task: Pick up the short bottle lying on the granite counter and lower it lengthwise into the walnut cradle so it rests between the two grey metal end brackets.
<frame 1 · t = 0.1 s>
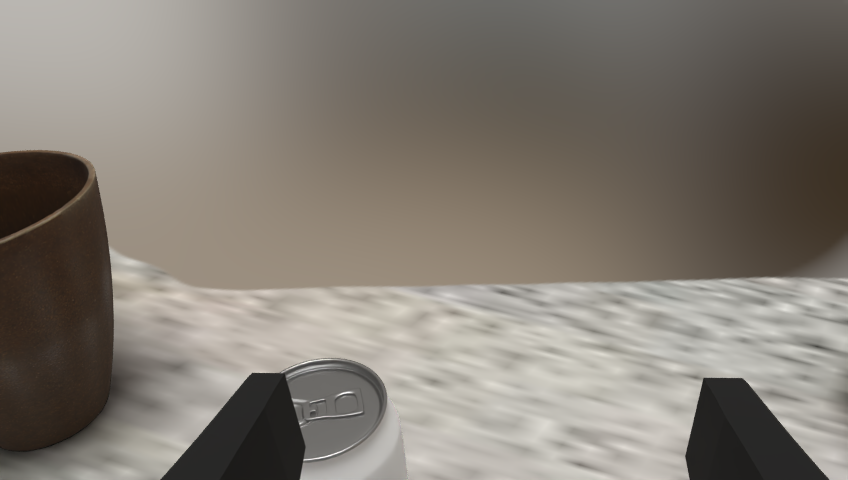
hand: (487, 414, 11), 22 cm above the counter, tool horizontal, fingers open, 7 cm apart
plant pot: (54, 412, 44), on the counter
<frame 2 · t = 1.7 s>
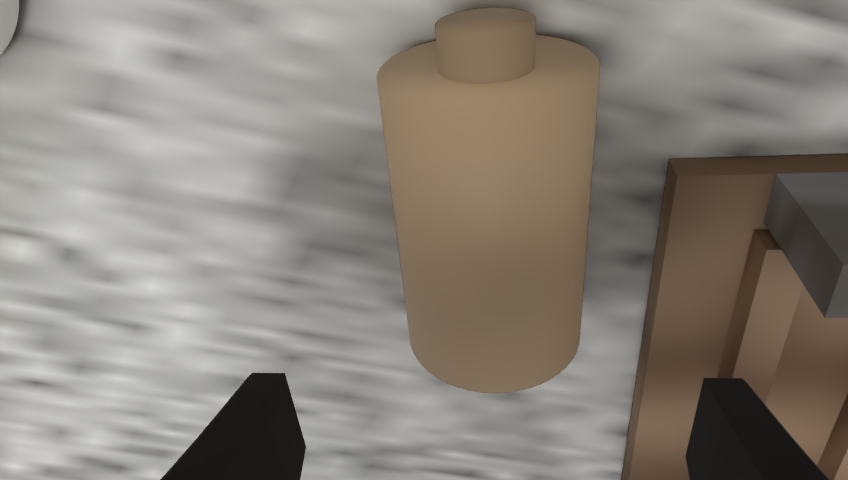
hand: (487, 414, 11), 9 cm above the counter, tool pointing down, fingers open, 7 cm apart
cradle: (791, 359, 22), on the counter
bottle: (490, 169, 19), on the counter
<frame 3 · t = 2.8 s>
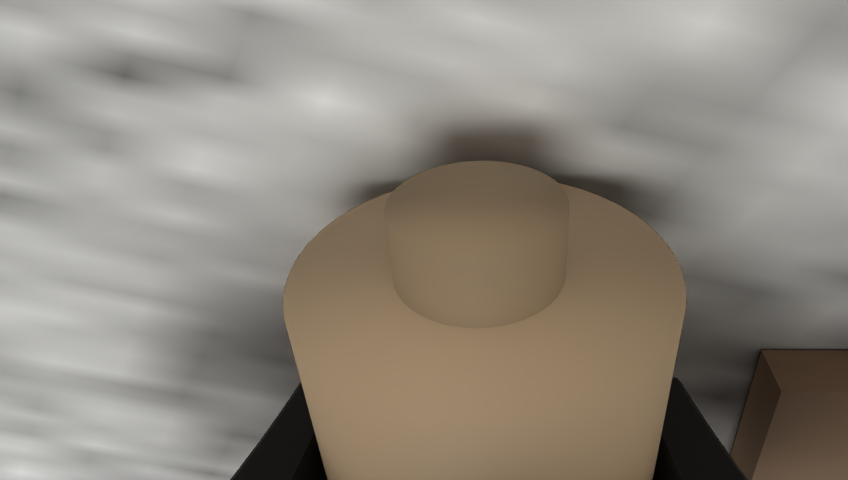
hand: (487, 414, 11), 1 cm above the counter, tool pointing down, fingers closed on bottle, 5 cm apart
bottle: (488, 355, 13), on the counter, touching gripper
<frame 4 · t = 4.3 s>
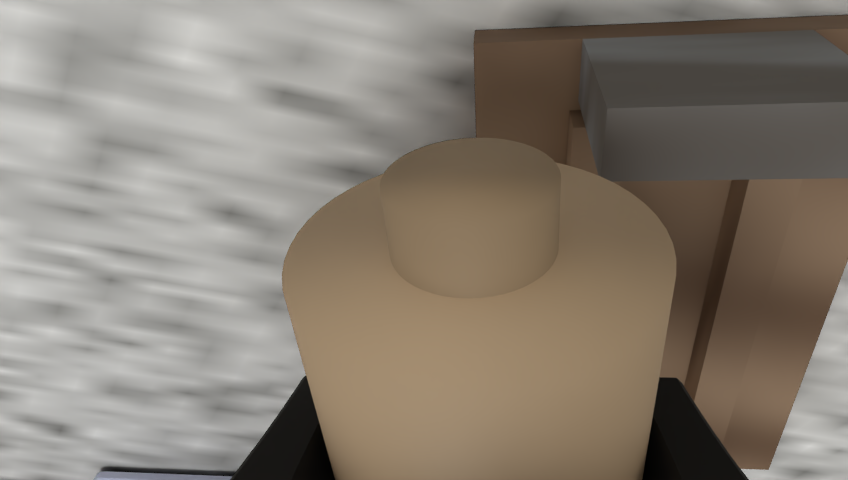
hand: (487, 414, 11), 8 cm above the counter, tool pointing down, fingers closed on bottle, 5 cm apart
cradle: (644, 278, 20), on the counter
bottle: (490, 336, 13), point 7 cm above the counter, touching gripper
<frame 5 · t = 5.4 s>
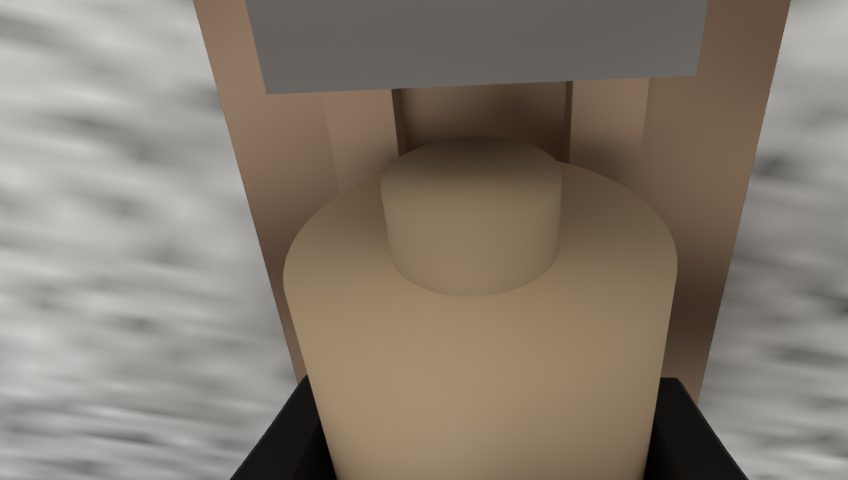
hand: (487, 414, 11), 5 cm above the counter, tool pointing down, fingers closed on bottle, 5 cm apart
cradle: (489, 261, 15), on the counter
bottle: (490, 335, 13), point 3 cm above the counter, touching gripper
when the fingers open (4 cm above the counter, at t = 5.9 s): bottle drops 1 cm, resting on cradle.
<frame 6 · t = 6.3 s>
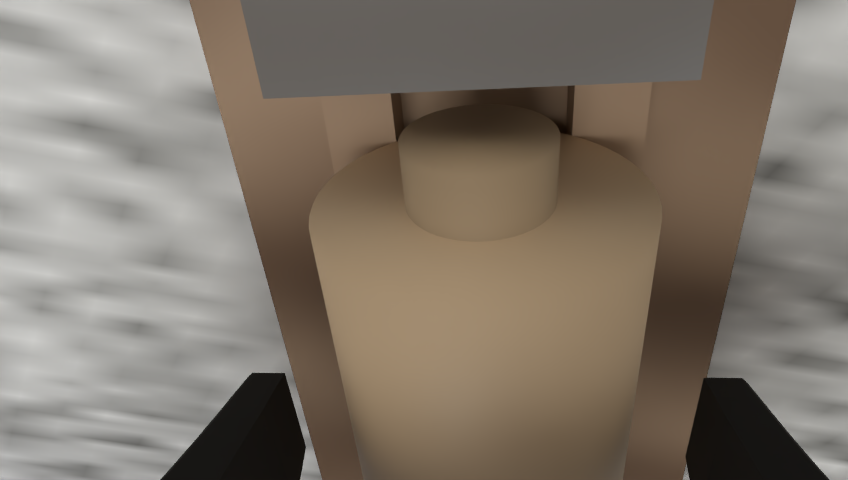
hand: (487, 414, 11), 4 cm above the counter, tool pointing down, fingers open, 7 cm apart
cradle: (489, 265, 15), on the counter
bottle: (487, 300, 14), point 2 cm above the counter, touching cradle
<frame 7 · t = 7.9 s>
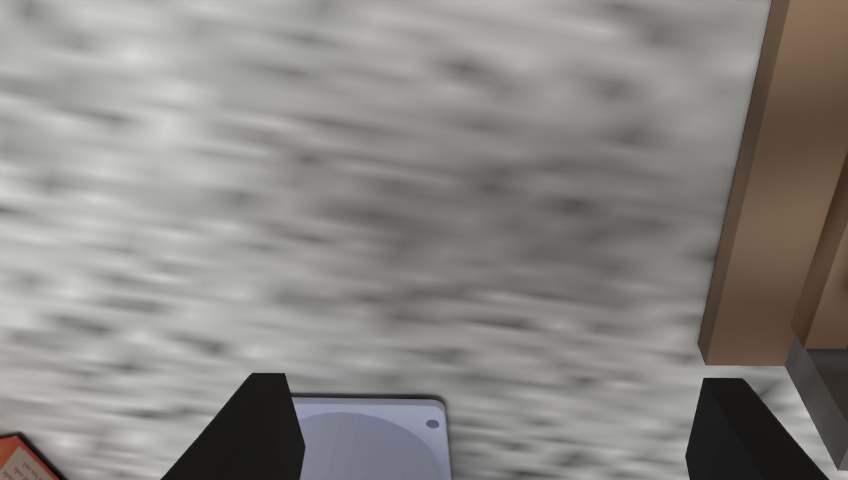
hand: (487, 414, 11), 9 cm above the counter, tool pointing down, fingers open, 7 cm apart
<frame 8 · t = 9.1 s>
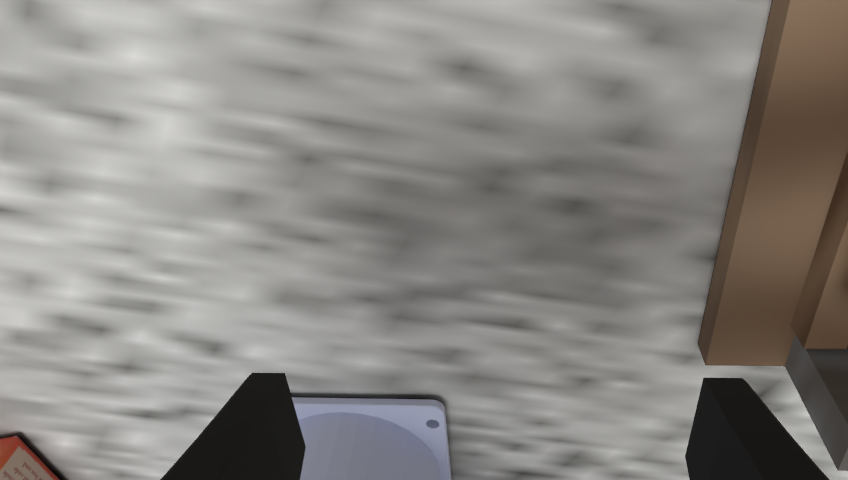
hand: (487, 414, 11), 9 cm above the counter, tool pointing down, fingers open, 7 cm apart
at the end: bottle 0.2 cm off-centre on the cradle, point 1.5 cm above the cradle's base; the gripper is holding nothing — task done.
